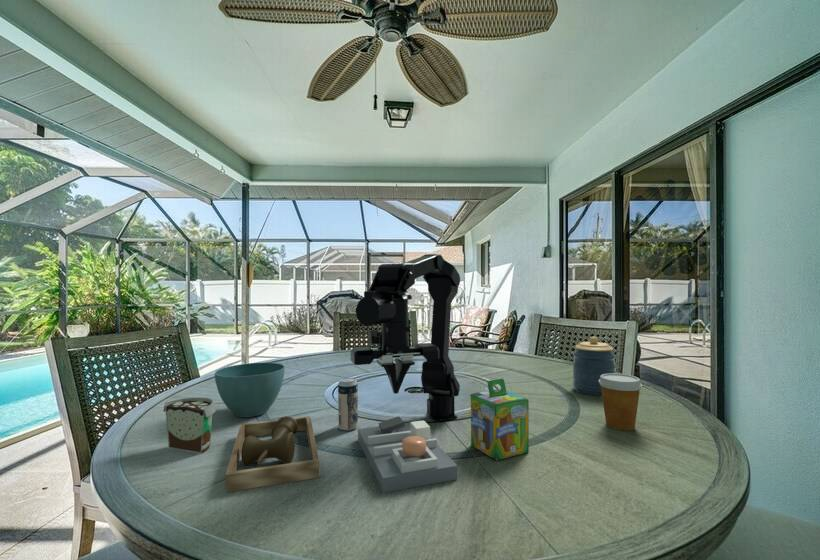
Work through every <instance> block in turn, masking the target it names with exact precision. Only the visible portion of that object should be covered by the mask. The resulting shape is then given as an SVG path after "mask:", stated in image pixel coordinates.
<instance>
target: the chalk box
mask: <svg viewBox="0 0 820 560" xmlns="http://www.w3.org/2000/svg"><path fill="white" fill-rule="evenodd" d="M505 382H506V381H505V379H504V378H496V379H491V380H490V379H489V380H488V381H487V387H488V390H485V391H484V390H483V391H478V392H475V393H470V395H469V396H470V446H471V447H473V448H474V449H477V450H478V451H480V452H481V453H482V454H485V455H487V456H489V457H490V458H491V459H493V460H495V461H497V462H498V461H501V460H504V459H507V458H511V457H515V456H519V455H524V454H528V453H529V451H530V449H529V448H530V447H529V445H530V443H529V441H530V440H529V438H530V437H529V433H530V432H529V431H530V430H529V428H530V427H529V422H530V421H529V420H530V416H529V411H530V410H529V402H530V401H529V399H528V398H526V397H523V396H520V395H519V394H517V393H514V392H512V391H511V392H510V391H507V388H506V384H505ZM496 385H499V386H500V388H499V389H494V387H495V386H496Z"/></svg>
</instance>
